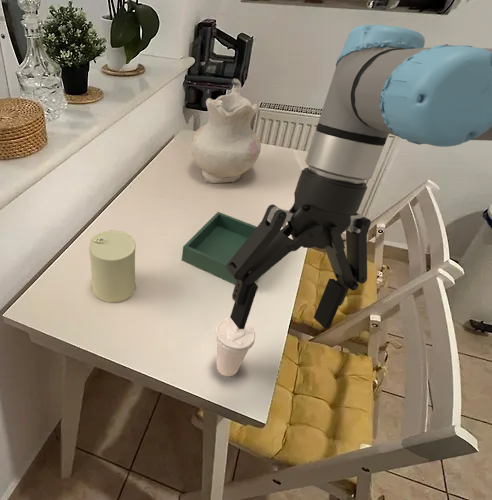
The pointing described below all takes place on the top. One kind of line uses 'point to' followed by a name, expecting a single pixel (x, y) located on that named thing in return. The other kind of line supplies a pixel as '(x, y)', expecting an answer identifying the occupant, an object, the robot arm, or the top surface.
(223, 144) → the ceramic pitcher
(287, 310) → the top surface
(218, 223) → the bin
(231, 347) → the smoothie
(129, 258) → the can
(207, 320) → the top surface
